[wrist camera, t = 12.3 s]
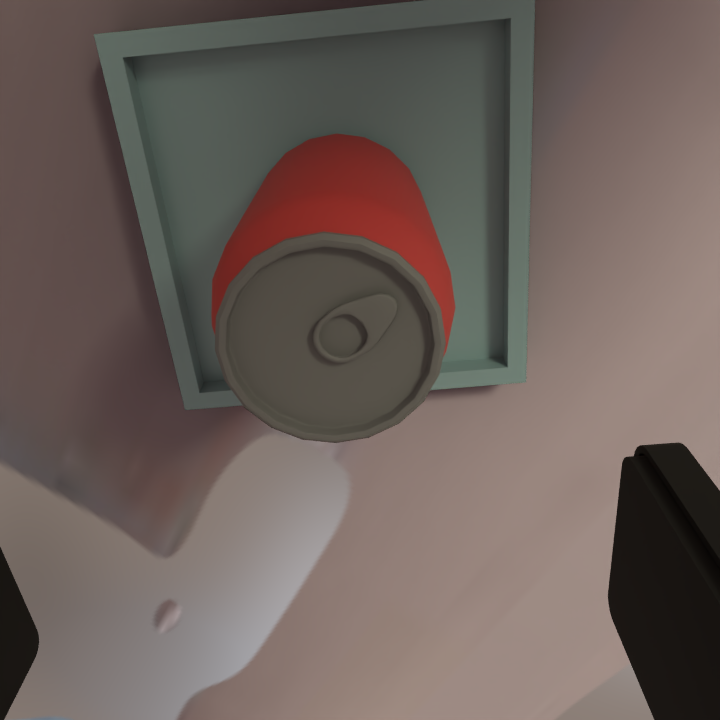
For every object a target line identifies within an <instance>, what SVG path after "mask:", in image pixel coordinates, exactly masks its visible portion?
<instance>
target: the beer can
mask: <svg viewBox="0 0 720 720" xmlns="http://www.w3.org/2000/svg"><path fill="white" fill-rule="evenodd" d="M454 312H455V301H454V294H453V286H452V279H451V272H450V269H449V266H448V264H447V261H446V258H445V256H444V253H443V250H442V247H441V245H440V242H439V239H438V237H437V234H436V231H435V228H434V226H433V223H432V220H431V218H430V215H429V212H428V210H427V207H426V204H425V201H424V199H423V196H422V193H421V191H420V189H419V187H418V185H417V183H416V181H415V179H414V177H413V175H412V173H411V171H410V169H409V168H408V167H407V166H406V165H405V164H404V163H403V162H402V161H401V160H400V159H399V158H398V157H397V156H396V155H395V154H394V153H393V152H392V151H391V150H390V149H388V148H386V147H384V146H382V145H380V144H378V143H376V142H374V141H371V140H369V139H367V138H365V137H360V136H352V135H345V134H332V135H327V136H322V137H317V138H312V139H309V140H307V141H305V142H303V143H302V144H300V145H298V146H297V147H295V148H293V149H292V150H290V151H288V152H286V153H285V154H284V155H283V157H282V158H281V159H280V160H279V161H278V162H277V164H276V165H275V166H274V167H273V168H272V169H271V171H270V172H269V173H268V174H267V176H266V178H265V180H264V181H263V183H262V185H261V186H260V188H259V190H258V191H257V193H256V195H255V196H254V198H253V200H252V201H251V203H250V205H249V207H248V208H247V210H246V212H245V213H244V215H243V217H242V218H241V220H240V222H239V223H238V225H237V227H236V228H235V230H234V232H233V234H232V235H231V237H230V239H229V240H228V242H227V244H226V246H225V248H224V251H223V253H222V256H221V258H220V261H219V264H218V266H217V269H216V271H215V274H214V276H213V279H212V310H211V318H212V328H213V331H214V334H215V352H216V355H217V358H218V361H219V364H220V367H221V371H222V374H223V377H224V380H225V382H226V383H227V385H228V386H229V387H230V389H231V390H232V391H233V393H234V394H235V395H236V397H237V398H238V400H239V401H240V402H241V404H242V405H243V406H244V408H246V409H247V410H248V411H250V412H251V413H252V414H254V415H255V416H256V417H258V418H259V419H260V420H262V421H263V422H264V423H266V424H267V425H268V426H270V427H271V428H274V429H276V430H279V431H282V432H284V433H287V434H289V435H292V436H295V437H297V438H300V439H303V440H313V441H322V442H332V443H338V442H344V441H350V440H357V439H363V438H369V437H371V436H373V435H375V434H377V433H380V432H382V431H384V430H386V429H388V428H390V427H393V426H395V425H397V424H399V423H400V422H401V421H402V420H403V419H405V418H406V417H407V416H408V415H409V414H410V413H411V412H413V411H414V410H415V409H416V408H417V407H418V406H419V405H420V404H422V403H423V402H424V400H425V398H426V396H427V395H428V393H429V391H430V390H431V388H432V386H433V385H434V383H435V381H436V380H437V378H438V376H439V374H440V370H441V365H442V360H443V357H444V355H445V353H446V351H447V346H448V342H449V337H450V332H451V327H452V322H453V317H454Z"/></svg>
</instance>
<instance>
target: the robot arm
mask: <svg viewBox="0 0 720 720" xmlns="http://www.w3.org/2000/svg"><path fill="white" fill-rule="evenodd" d="M608 602H609V608H610V613H611V617H612V619H613V622H614V625H615V627H616V629H617V632H618V634H619V637H620V639H621V641H622V644H623V646H624V648H625V651H626V653H627V656H628V658H629V660H630V663H631V665H632V668H633V670H634V672H635V674H636V677H637V679H638V682H639V684H640V687H641V689H642V691H643V694H644V696H645V699H646V701H647V703H648V706H649V708H650V710H651V713H652V715H653V717H654V720H720V491H719V489H718V488H717V487H716V485H715V484H714V483H713V481H712V480H711V479H710V477H709V476H708V475H707V474H706V472H705V471H704V470H703V468H702V467H701V466H700V464H699V463H698V462H697V460H696V459H695V458H694V456H693V455H692V454H691V452H690V451H689V450H688V449H687V447H686V446H685V445H683V444H682V443H667V444H654V445H641V446H639V447H637V449H636V451H635V454H634V456H632V457H626V458H624V460H623V463H622V470H621V479H620V488H619V497H618V507H617V516H616V525H615V534H614V544H613V553H612V562H611V571H610V581H609V590H608ZM38 645H39V636H38V632H37V629H36V627H35V624H34V622H33V620H32V617H31V615H30V613H29V611H28V608H27V606H26V604H25V602H24V599H23V597H22V595H21V593H20V591H19V588H18V586H17V584H16V582H15V579H14V577H13V575H12V572H11V570H10V568H9V566H8V563H7V561H6V559H5V557H4V554H3V552H2V550H1V548H0V720H4V719H5V716H6V715H7V713H8V711H9V709H10V707H11V705H12V703H13V701H14V699H15V697H16V695H17V693H18V691H19V689H20V687H21V685H22V683H23V681H24V679H25V677H26V675H27V673H28V671H29V669H30V667H31V665H32V663H33V661H34V659H35V657H36V654H37V651H38Z"/></svg>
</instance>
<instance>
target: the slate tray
mask: <svg viewBox="0 0 720 720" xmlns="http://www.w3.org/2000/svg"><path fill="white" fill-rule="evenodd" d="M534 26H535V0H422V1H412V2H402V3H393V4H383V5H373V6H364V7H354V8H344V9H334V10H325V11H315V12H305V13H296V14H286V15H276V16H266V17H257V18H247V19H237V20H228V21H218V22H208V23H198V24H189V25H179V26H169V27H160V28H150V29H140V30H130V31H121V32H111V33H101V34H94V38H95V42H96V46H97V50H98V54H99V58H100V62H101V66H102V71H103V75H104V79H105V83H106V87H107V91H108V95H109V99H110V103H111V108H112V112H113V116H114V120H115V124H116V128H117V132H118V136H119V140H120V145H121V149H122V153H123V157H124V161H125V165H126V169H127V173H128V177H129V182H130V186H131V190H132V194H133V198H134V202H135V206H136V210H137V214H138V219H139V223H140V227H141V231H142V235H143V239H144V243H145V247H146V251H147V256H148V260H149V264H150V268H151V272H152V276H153V280H154V284H155V288H156V293H157V297H158V301H159V305H160V309H161V313H162V317H163V321H164V325H165V330H166V334H167V338H168V342H169V346H170V350H171V354H172V358H173V362H174V366H175V371H176V375H177V379H178V383H179V387H180V391H181V395H182V399H183V403H184V408H185V410H193V409H205V408H218V407H230V406H242V404H241V402H240V401H239V400H238V398H237V397H236V395H235V394H234V393H233V391H232V390H231V389H230V387H229V386H228V385H227V383H226V382H225V380H224V377H223V374H222V371H221V367H220V364H219V361H218V358H217V355H216V352H215V334H214V331H213V328H212V318H211V310H212V279H213V276H214V274H215V271H216V269H217V266H218V264H219V261H220V258H221V256H222V253H223V251H224V248H225V246H226V244H227V242H228V240H229V239H230V237H231V235H232V234H233V232H234V230H235V228H236V227H237V225H238V223H239V222H240V220H241V218H242V217H243V215H244V213H245V212H246V210H247V208H248V207H249V205H250V203H251V201H252V200H253V198H254V196H255V195H256V193H257V191H258V190H259V188H260V186H261V185H262V183H263V181H264V180H265V178H266V176H267V174H268V173H269V172H270V171H271V169H272V168H273V167H274V166H275V165H276V164H277V162H278V161H279V160H280V159H281V158H282V157H283V155H284V154H285V153H286V152H288V151H290V150H292V149H293V148H295V147H297V146H298V145H300V144H302V143H303V142H305V141H307V140H309V139H312V138H317V137H322V136H327V135H332V134H345V135H352V136H360V137H365V138H367V139H369V140H371V141H374V142H376V143H378V144H380V145H382V146H384V147H386V148H388V149H390V150H391V151H392V152H393V153H394V154H395V155H396V156H397V157H398V158H399V159H400V160H401V161H402V162H403V163H404V164H405V165H406V166H407V167H408V168H409V169H410V171H411V173H412V175H413V177H414V179H415V181H416V183H417V185H418V187H419V189H420V191H421V193H422V196H423V199H424V201H425V204H426V207H427V210H428V212H429V215H430V218H431V220H432V223H433V226H434V228H435V231H436V234H437V237H438V239H439V242H440V245H441V247H442V250H443V253H444V256H445V258H446V261H447V264H448V266H449V269H450V272H451V279H452V286H453V294H454V301H455V312H454V317H453V322H452V327H451V332H450V337H449V342H448V346H447V351H446V353H445V355H444V357H443V360H442V365H441V370H440V374H439V376H438V378H437V380H436V381H435V383H434V385H433V386H432V388H431V390H438V389H450V388H462V387H475V386H487V385H499V384H511V383H523V382H526V363H527V321H528V279H529V237H530V194H531V152H532V110H533V68H534Z"/></svg>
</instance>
